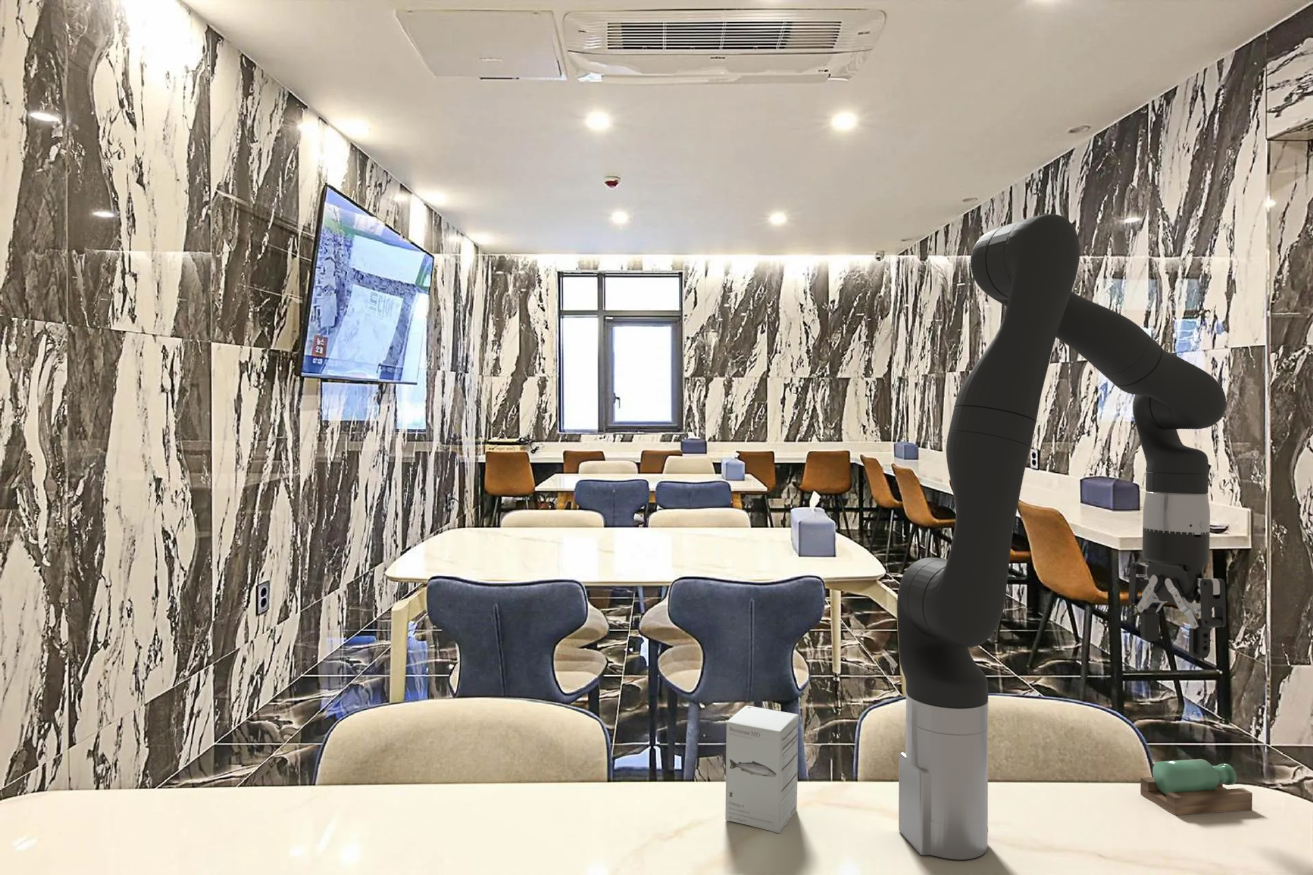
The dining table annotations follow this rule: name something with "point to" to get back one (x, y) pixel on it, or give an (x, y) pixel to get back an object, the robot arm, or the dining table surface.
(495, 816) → the dining table surface
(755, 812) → the supplement box
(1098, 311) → the robot arm
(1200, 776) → the bottle
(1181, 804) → the bottle rest
